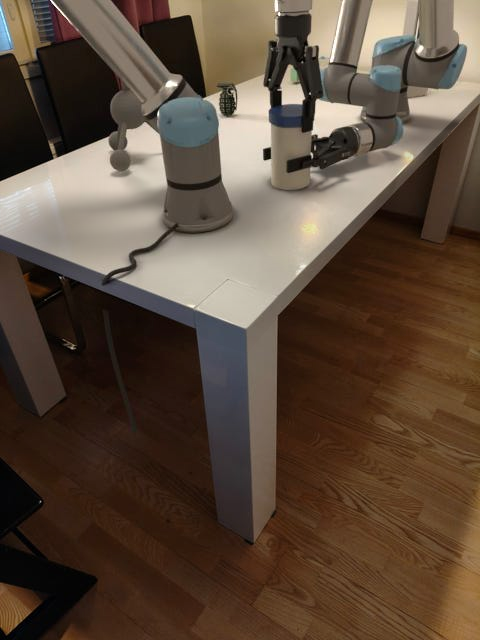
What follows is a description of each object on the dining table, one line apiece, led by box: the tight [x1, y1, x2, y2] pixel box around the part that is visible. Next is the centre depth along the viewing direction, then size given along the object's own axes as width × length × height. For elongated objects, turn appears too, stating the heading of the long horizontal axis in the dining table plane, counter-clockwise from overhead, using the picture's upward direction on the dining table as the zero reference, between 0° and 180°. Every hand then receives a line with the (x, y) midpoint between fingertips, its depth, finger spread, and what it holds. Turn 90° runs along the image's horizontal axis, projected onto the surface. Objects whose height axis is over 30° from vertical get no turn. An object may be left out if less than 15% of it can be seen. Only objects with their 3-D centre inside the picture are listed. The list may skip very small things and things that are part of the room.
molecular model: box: [107, 79, 160, 172], centre depth 131 cm, size 24×22×30 cm
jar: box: [270, 123, 313, 191], centre depth 115 cm, size 9×9×16 cm
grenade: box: [215, 82, 238, 117], centre depth 166 cm, size 7×6×10 cm
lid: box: [268, 103, 315, 127], centre depth 111 cm, size 10×10×2 cm
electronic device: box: [402, 0, 429, 98], centre depth 170 cm, size 12×8×30 cm, turn 105°
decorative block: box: [290, 56, 330, 83], centre depth 205 cm, size 26×6×20 cm
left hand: (291, 125), depth 112 cm, fingers closed on lid, 10 cm apart
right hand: (275, 160), depth 115 cm, fingers closed on jar, 9 cm apart
